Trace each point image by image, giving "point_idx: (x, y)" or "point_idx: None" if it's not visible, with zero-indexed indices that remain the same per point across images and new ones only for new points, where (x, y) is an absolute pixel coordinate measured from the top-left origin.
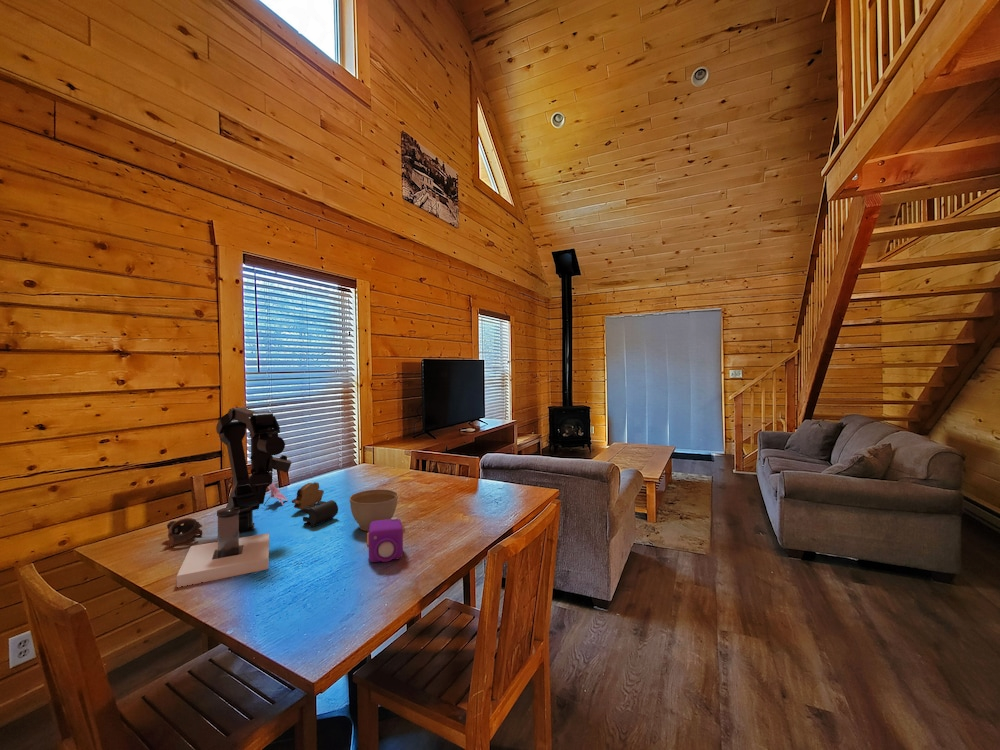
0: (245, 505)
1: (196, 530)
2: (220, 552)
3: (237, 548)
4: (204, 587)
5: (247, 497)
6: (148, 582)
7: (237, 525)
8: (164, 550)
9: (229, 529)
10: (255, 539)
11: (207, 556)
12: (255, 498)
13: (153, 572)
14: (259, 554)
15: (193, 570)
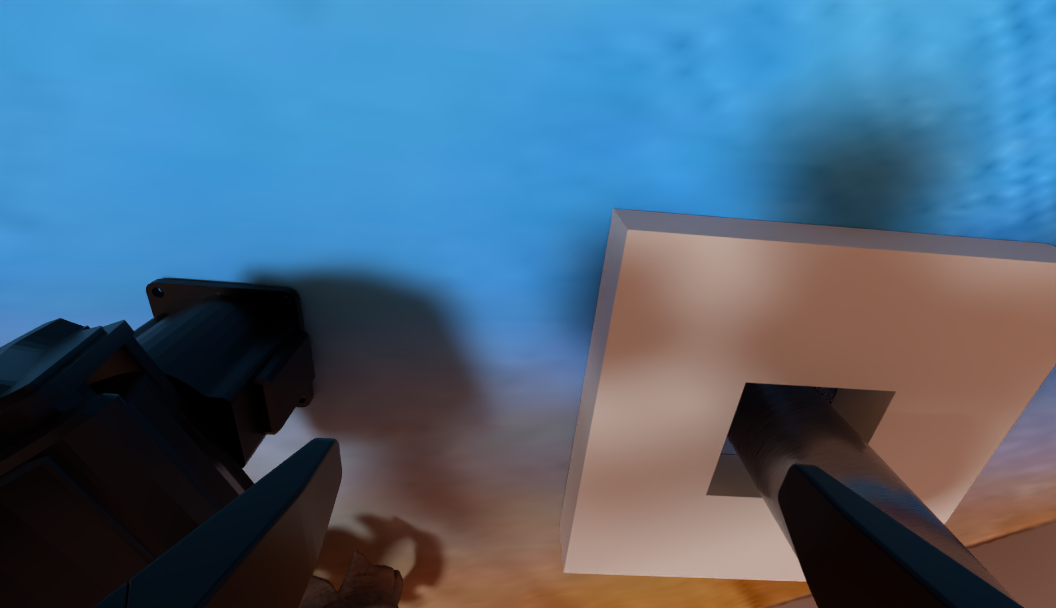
0: (227, 482)
1: (356, 583)
2: None
3: (847, 423)
4: None
5: (155, 545)
6: (732, 601)
7: (971, 559)
8: (414, 599)
9: None
10: (702, 320)
11: None
12: (126, 449)
13: (646, 601)
14: (1002, 310)
15: None
